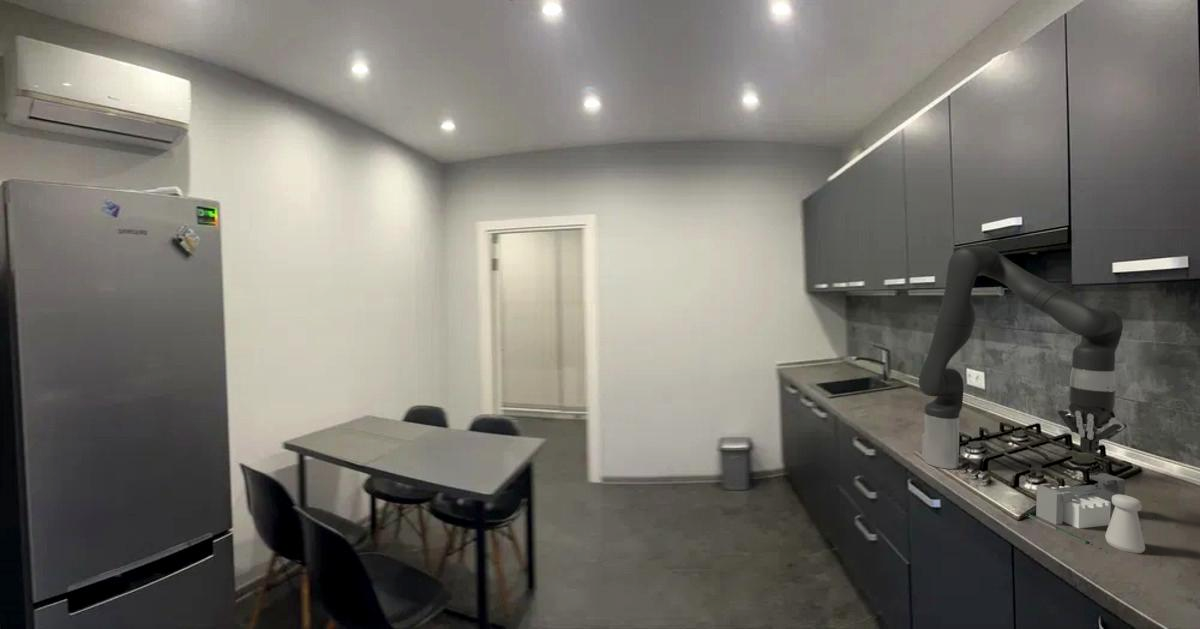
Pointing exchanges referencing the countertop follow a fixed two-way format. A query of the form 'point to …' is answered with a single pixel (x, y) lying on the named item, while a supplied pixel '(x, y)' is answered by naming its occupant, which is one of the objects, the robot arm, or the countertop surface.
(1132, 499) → the salt shaker
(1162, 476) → the countertop surface
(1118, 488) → the block
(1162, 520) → the countertop surface
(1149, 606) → the countertop surface
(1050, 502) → the heatsink base
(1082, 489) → the strap
